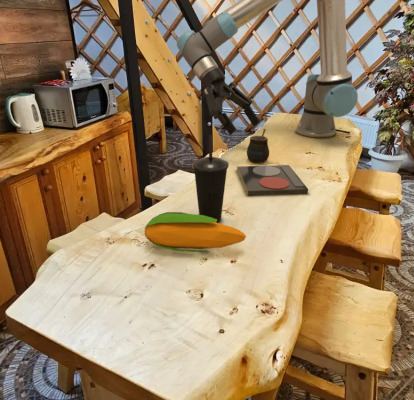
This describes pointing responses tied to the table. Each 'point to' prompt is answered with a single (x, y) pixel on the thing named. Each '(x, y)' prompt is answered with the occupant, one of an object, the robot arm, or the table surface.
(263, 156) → the mate gourd
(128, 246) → the table surface
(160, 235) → the corn
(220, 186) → the drinking cup
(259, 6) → the robot arm
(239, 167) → the hob
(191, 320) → the table surface
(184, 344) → the table surface
